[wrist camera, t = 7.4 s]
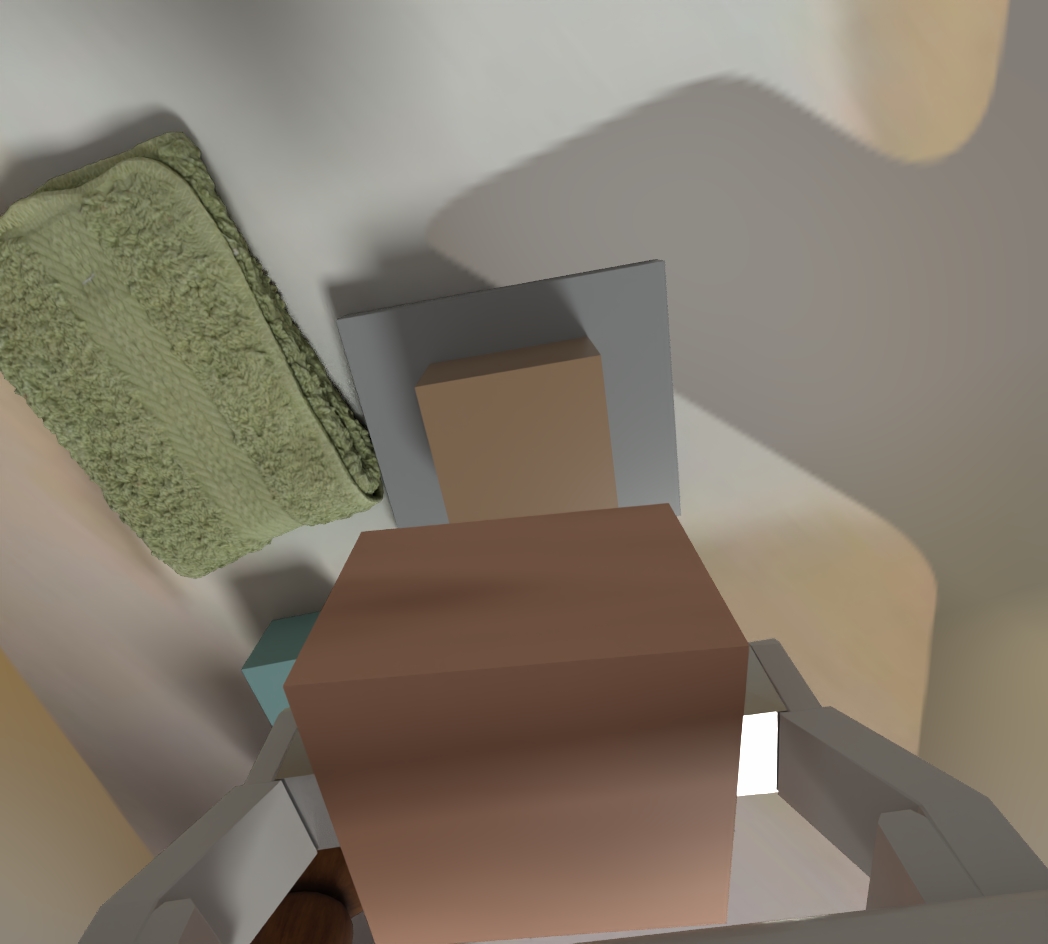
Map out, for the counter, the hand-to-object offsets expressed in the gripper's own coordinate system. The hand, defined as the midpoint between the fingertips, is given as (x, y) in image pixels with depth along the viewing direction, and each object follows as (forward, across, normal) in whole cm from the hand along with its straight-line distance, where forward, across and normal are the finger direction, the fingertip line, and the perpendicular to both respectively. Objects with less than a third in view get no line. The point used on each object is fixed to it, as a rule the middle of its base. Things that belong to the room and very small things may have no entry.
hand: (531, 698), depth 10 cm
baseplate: (+18, 0, 0) cm, 18 cm away
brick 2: (+2, 0, 0) cm, 2 cm away
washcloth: (+18, -15, +4) cm, 24 cm away
